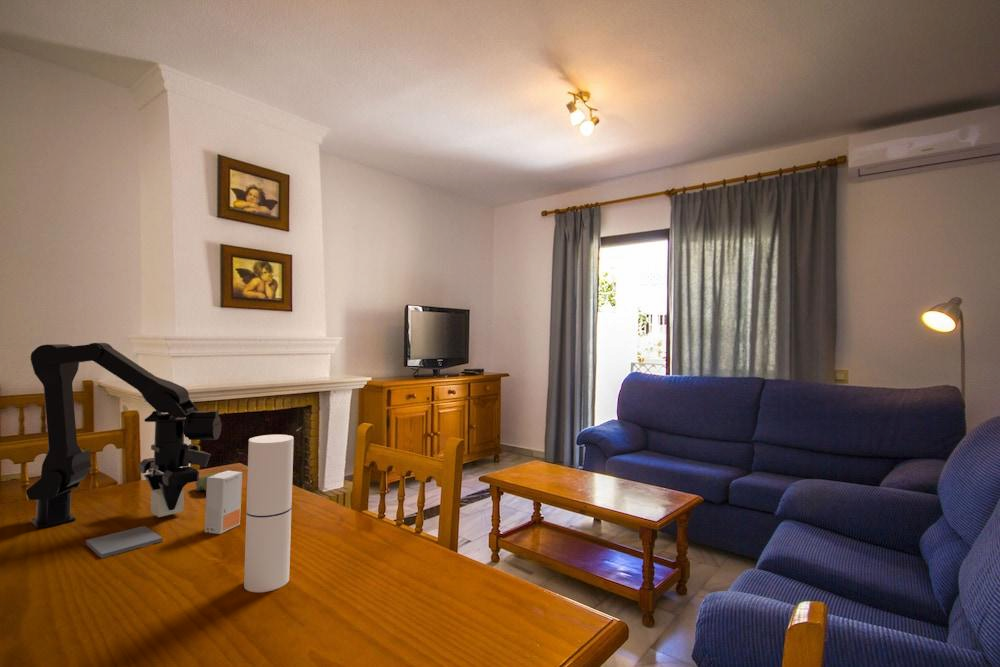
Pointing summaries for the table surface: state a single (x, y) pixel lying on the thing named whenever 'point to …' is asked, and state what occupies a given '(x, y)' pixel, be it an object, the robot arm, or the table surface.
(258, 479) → the cylindrical container
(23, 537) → the table surface
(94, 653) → the table surface
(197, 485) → the pear
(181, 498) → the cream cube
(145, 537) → the mat
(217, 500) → the skincare box
